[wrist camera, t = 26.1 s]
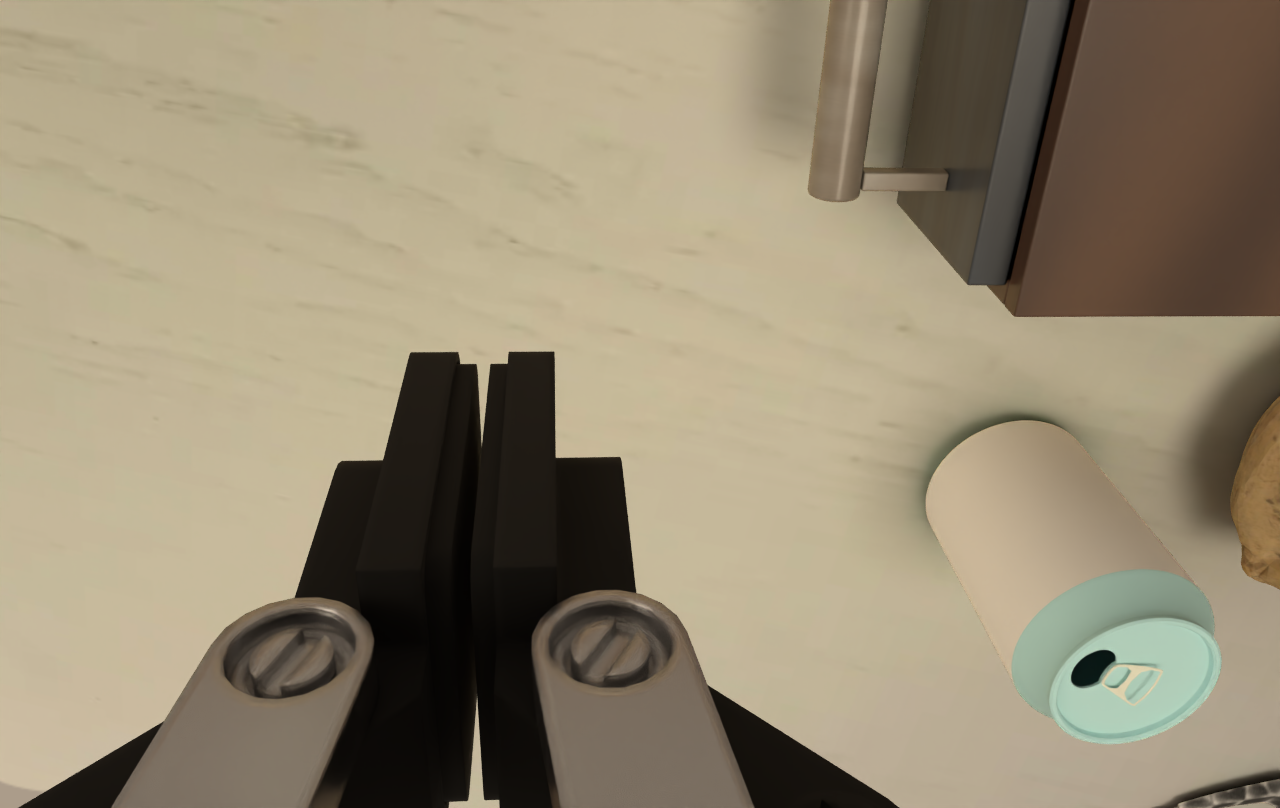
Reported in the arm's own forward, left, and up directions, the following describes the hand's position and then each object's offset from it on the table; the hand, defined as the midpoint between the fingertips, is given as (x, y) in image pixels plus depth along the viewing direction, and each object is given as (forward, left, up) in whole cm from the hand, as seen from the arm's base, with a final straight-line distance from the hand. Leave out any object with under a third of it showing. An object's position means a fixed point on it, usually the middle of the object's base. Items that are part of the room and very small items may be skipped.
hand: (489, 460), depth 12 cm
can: (+18, +20, -25) cm, 37 cm away
